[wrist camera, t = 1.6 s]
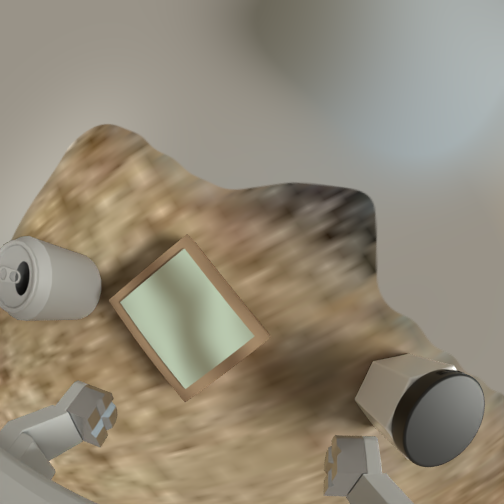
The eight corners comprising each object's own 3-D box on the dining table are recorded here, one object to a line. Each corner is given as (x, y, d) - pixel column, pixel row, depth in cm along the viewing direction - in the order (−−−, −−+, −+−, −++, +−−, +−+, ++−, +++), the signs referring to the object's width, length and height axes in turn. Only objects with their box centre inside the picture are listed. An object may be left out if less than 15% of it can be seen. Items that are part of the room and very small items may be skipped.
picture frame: (193, 391, 31) (184, 403, 26) (124, 301, 32) (107, 300, 28) (269, 333, 32) (270, 337, 27) (195, 242, 33) (186, 233, 29)
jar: (435, 393, 30) (497, 420, 18) (381, 439, 29) (428, 486, 17) (400, 336, 31) (463, 347, 19) (341, 384, 30) (382, 421, 19)
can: (101, 325, 32) (35, 329, 20) (50, 312, 32) (-19, 310, 20) (109, 258, 33) (47, 235, 21) (58, 251, 34) (-8, 228, 22)
